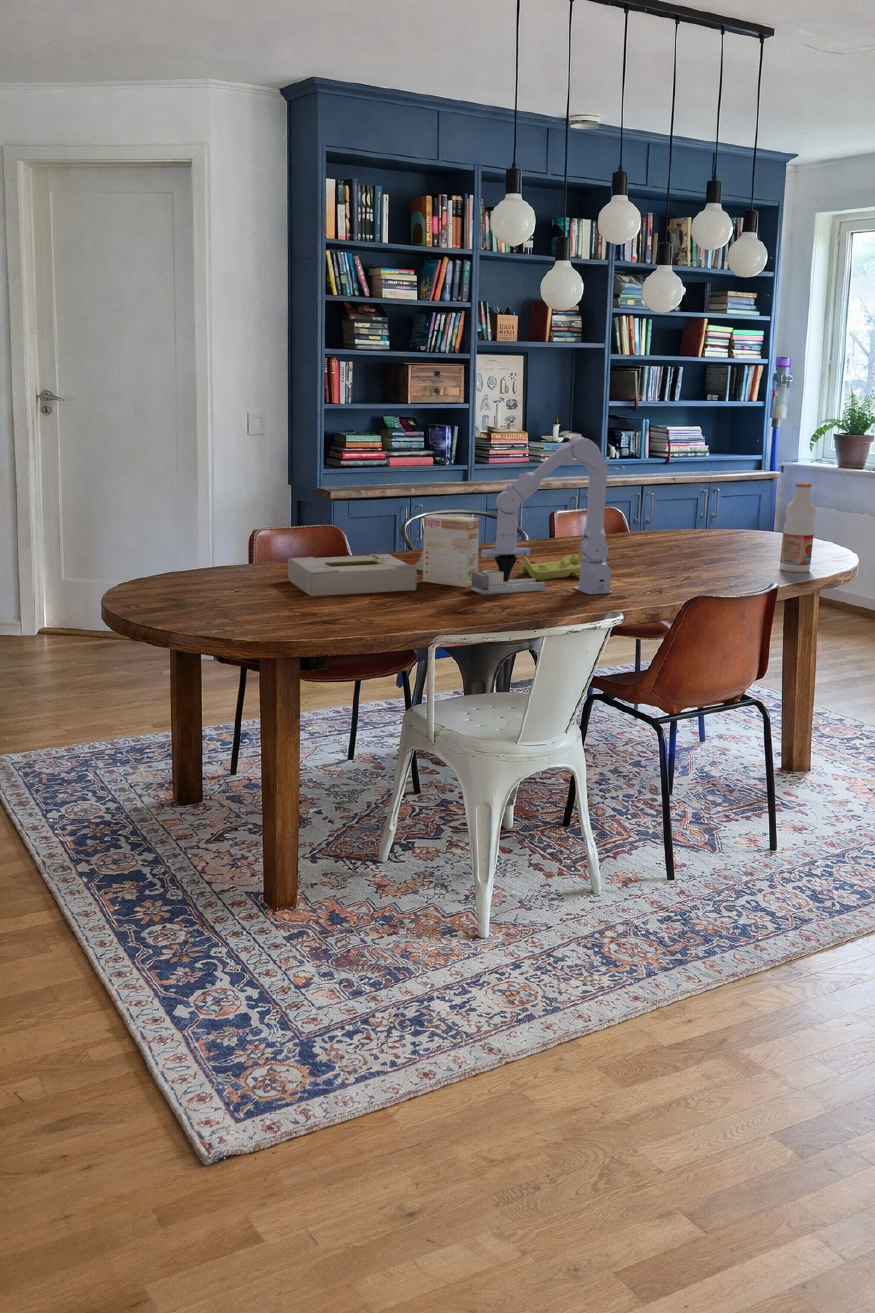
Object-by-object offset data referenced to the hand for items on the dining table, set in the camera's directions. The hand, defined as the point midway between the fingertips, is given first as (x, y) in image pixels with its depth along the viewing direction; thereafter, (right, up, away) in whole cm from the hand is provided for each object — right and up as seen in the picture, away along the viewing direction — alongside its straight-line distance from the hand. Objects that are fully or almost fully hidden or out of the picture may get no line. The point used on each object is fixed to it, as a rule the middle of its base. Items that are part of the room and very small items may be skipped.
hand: (504, 581), depth 337 cm
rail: (+1, -3, +1) cm, 3 cm away
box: (-44, -2, +3) cm, 44 cm away
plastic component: (+17, +3, +24) cm, 30 cm away
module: (-4, -2, -1) cm, 4 cm away
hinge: (-18, +5, +28) cm, 33 cm away
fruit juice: (+96, +6, +43) cm, 105 cm away
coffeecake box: (-16, 0, +10) cm, 18 cm away
